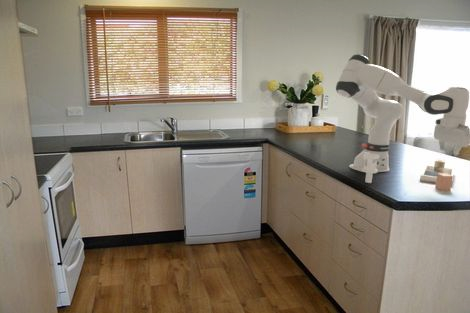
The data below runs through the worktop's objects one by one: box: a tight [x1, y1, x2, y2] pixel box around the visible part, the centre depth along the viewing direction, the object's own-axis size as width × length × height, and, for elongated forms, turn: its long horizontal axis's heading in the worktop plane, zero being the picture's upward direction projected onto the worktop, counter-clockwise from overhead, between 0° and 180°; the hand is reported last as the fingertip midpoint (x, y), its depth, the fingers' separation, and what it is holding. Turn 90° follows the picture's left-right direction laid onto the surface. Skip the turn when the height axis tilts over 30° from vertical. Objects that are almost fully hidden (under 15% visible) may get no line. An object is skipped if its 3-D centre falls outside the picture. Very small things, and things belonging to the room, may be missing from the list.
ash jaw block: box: [433, 159, 446, 172], centre depth 191 cm, size 4×4×7 cm
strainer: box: [362, 152, 379, 184], centre depth 175 cm, size 7×7×15 cm
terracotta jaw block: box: [434, 173, 454, 191], centre depth 167 cm, size 4×4×7 cm
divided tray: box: [419, 164, 455, 187], centre depth 186 cm, size 25×14×3 cm, turn 147°
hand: (448, 152), depth 164 cm, fingers open, 8 cm apart
